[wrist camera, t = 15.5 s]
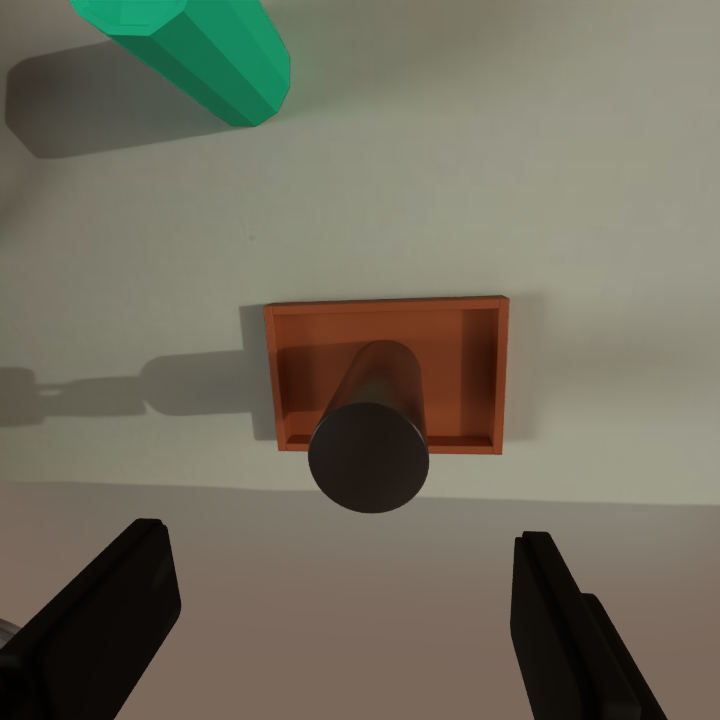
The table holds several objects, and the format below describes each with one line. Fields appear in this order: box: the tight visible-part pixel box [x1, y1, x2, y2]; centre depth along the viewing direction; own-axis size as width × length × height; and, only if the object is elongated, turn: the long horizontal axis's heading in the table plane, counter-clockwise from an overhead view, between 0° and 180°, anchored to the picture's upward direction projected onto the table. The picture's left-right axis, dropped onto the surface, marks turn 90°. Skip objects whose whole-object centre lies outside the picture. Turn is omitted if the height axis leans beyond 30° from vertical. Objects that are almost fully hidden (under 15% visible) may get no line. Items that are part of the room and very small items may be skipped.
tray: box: [263, 295, 509, 455], centre depth 26 cm, size 15×10×2 cm
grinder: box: [308, 340, 429, 513], centre depth 21 cm, size 5×5×12 cm
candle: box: [70, 0, 290, 126], centre depth 18 cm, size 6×6×12 cm
